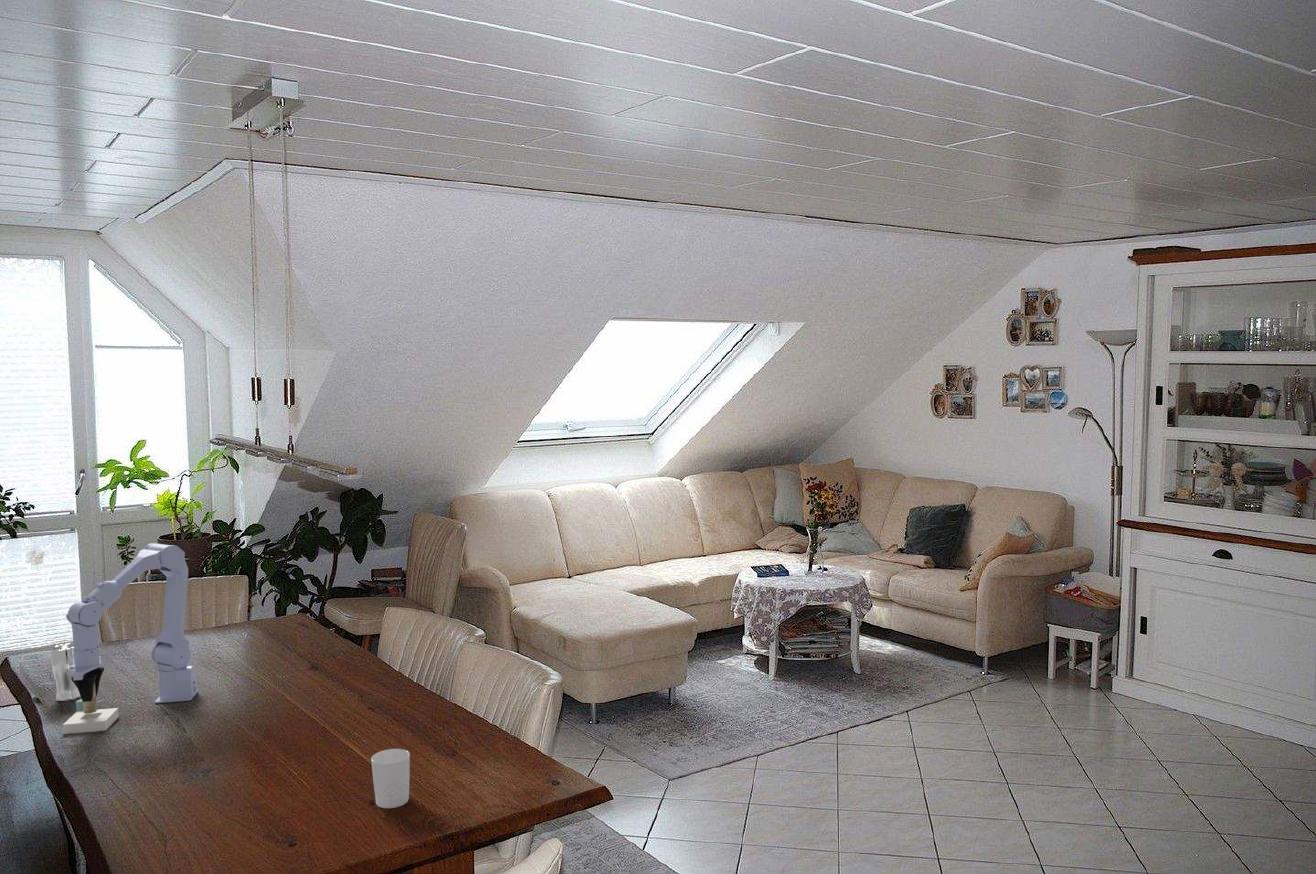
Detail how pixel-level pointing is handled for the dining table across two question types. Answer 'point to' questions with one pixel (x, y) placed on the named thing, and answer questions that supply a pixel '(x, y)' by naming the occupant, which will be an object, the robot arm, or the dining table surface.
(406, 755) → the white cup
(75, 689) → the beer glass
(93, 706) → the long beech pin
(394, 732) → the dining table surface
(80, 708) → the short teal pin
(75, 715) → the collar block
